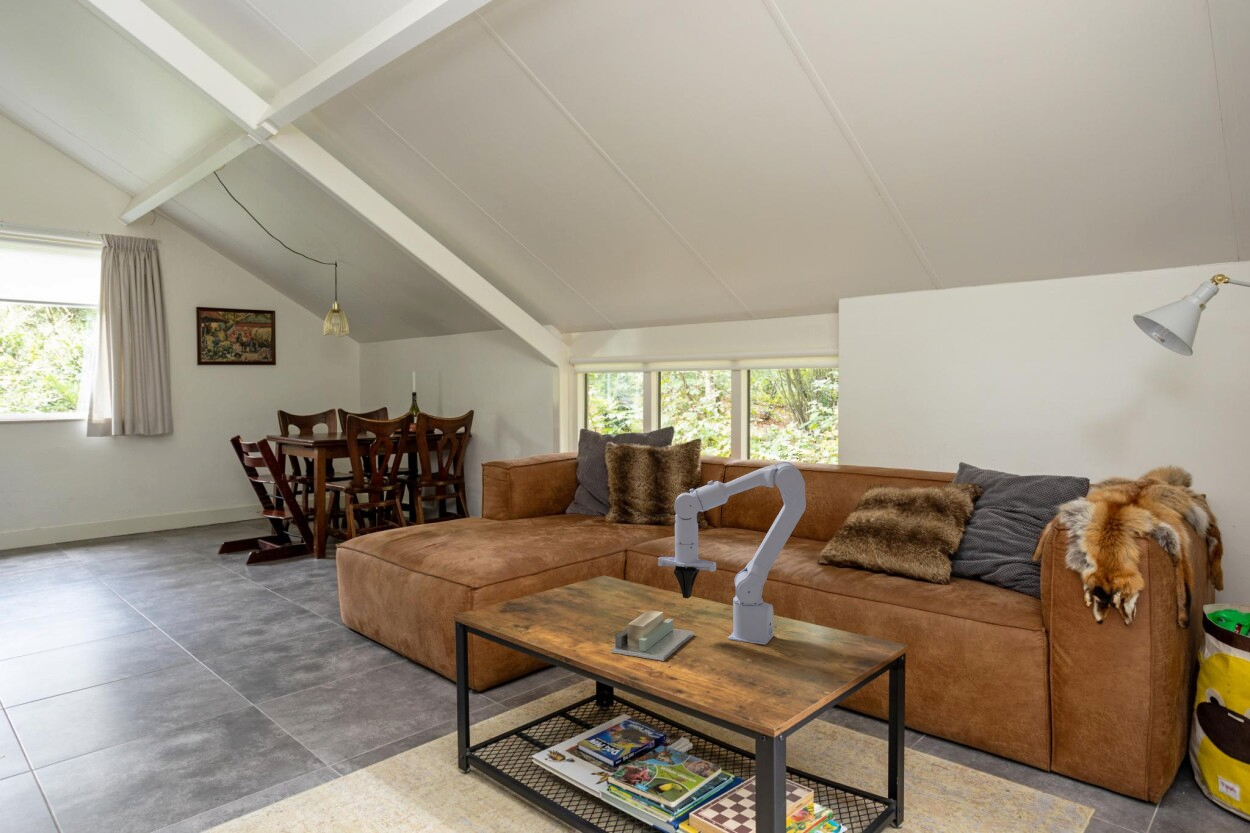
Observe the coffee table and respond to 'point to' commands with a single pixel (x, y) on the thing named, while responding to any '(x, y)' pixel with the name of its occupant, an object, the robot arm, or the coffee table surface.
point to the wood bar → (643, 626)
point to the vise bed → (658, 650)
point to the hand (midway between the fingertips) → (686, 597)
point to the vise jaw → (655, 635)
